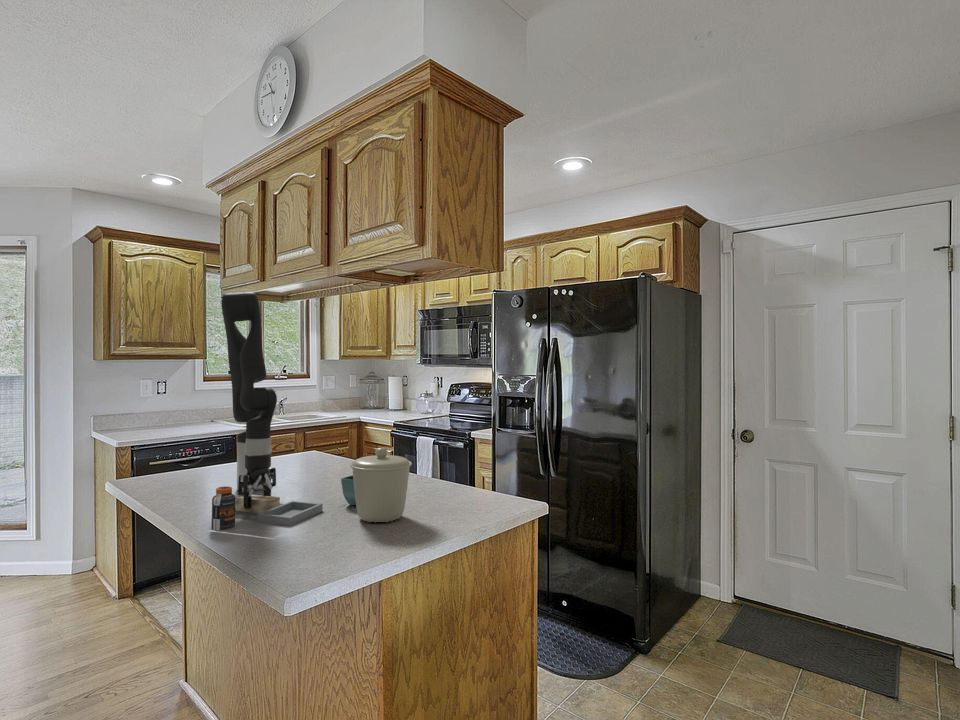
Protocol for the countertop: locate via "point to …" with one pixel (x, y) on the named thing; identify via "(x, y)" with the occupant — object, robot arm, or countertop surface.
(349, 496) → the flower pot
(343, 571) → the countertop surface
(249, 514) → the rubber mat
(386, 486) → the canister
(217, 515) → the pill bottle
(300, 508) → the slate tray
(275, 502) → the wooden block
